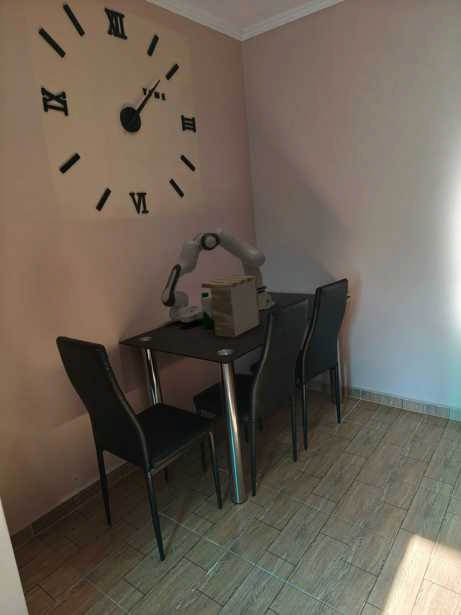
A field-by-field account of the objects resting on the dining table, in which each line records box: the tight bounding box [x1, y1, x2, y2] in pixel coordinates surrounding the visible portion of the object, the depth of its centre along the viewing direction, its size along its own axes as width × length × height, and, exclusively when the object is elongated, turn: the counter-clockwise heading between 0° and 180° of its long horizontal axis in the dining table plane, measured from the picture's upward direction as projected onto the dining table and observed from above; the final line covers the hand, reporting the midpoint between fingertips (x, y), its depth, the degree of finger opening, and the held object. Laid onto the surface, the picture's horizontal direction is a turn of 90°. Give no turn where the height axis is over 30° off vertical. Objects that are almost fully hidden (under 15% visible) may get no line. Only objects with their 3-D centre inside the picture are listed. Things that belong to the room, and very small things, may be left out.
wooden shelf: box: [200, 274, 261, 338], centre depth 224 cm, size 26×18×28 cm
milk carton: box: [200, 292, 215, 329], centre depth 235 cm, size 9×9×20 cm
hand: (205, 315), depth 238 cm, fingers closed
